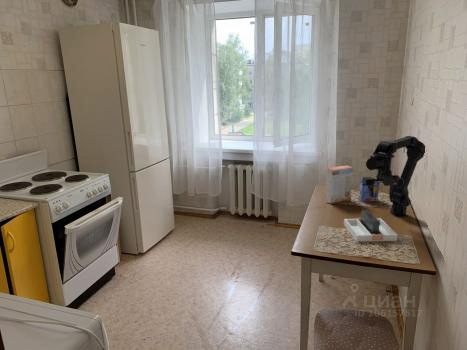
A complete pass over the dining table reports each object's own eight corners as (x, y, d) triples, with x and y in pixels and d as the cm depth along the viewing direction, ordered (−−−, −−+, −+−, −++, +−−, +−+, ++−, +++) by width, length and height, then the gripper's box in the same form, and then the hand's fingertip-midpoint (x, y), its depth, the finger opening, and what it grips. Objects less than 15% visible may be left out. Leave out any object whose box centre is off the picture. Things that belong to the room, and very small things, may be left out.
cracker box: (344, 197, 208) (347, 164, 203) (351, 201, 203) (353, 167, 197) (325, 200, 204) (326, 167, 199) (330, 204, 199) (332, 169, 193)
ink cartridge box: (361, 202, 201) (363, 178, 197) (358, 198, 206) (360, 176, 202) (378, 201, 201) (380, 178, 197) (374, 198, 206) (376, 175, 202)
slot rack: (379, 223, 171) (380, 217, 170) (397, 241, 153) (398, 234, 152) (343, 224, 171) (344, 218, 170) (356, 241, 153) (357, 235, 152)
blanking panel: (366, 224, 169) (367, 210, 167) (378, 237, 156) (379, 221, 153) (360, 225, 169) (361, 210, 167) (371, 237, 156) (373, 221, 153)
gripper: (371, 171, 159) (368, 203, 163) (411, 171, 159) (407, 202, 163) (363, 165, 170) (360, 195, 174) (400, 165, 170) (396, 194, 174)
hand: (381, 197), depth 171 cm, fingers open, 9 cm apart
